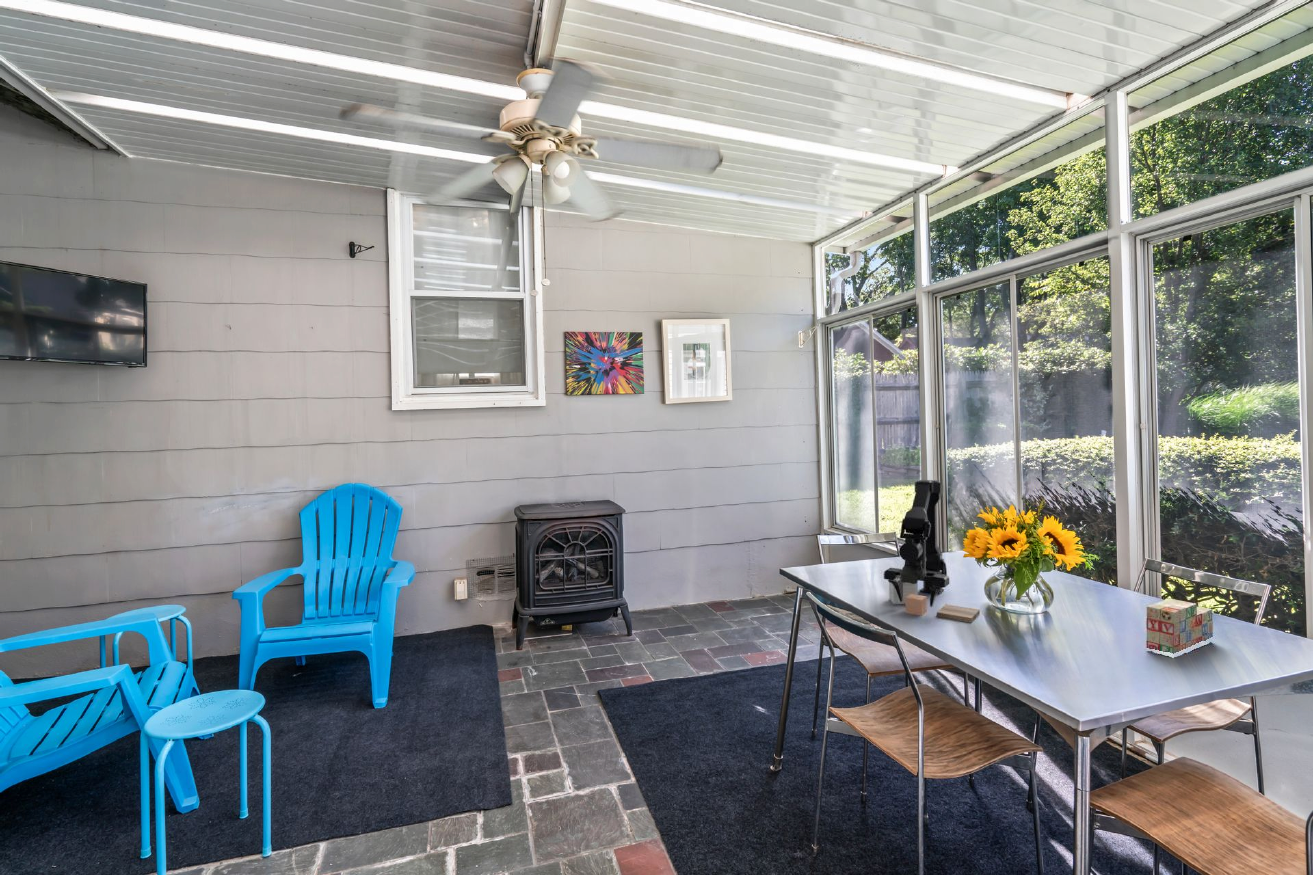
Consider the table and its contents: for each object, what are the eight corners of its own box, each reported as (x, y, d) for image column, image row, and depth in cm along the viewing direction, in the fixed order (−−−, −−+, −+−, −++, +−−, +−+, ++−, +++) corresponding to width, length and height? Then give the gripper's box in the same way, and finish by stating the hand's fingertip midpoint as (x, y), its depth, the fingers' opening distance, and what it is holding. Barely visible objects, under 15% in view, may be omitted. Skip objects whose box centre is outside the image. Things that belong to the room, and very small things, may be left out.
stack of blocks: (1185, 636, 180) (1185, 592, 180) (1213, 643, 175) (1213, 598, 174) (1145, 651, 170) (1146, 605, 169) (1173, 659, 164) (1174, 611, 164)
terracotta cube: (910, 609, 210) (910, 593, 210) (926, 611, 207) (926, 596, 206) (905, 613, 206) (905, 597, 206) (921, 616, 203) (921, 600, 203)
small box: (913, 599, 220) (913, 568, 220) (918, 604, 214) (918, 572, 214) (888, 599, 221) (888, 568, 220) (893, 604, 215) (892, 572, 215)
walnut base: (945, 610, 209) (945, 604, 209) (979, 615, 203) (979, 609, 203) (936, 618, 201) (936, 612, 201) (971, 624, 195) (971, 618, 195)
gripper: (877, 556, 205) (877, 605, 206) (939, 564, 193) (939, 615, 194) (889, 550, 214) (890, 596, 214) (949, 557, 202) (950, 606, 203)
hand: (916, 603), depth 206 cm, fingers open, 9 cm apart
